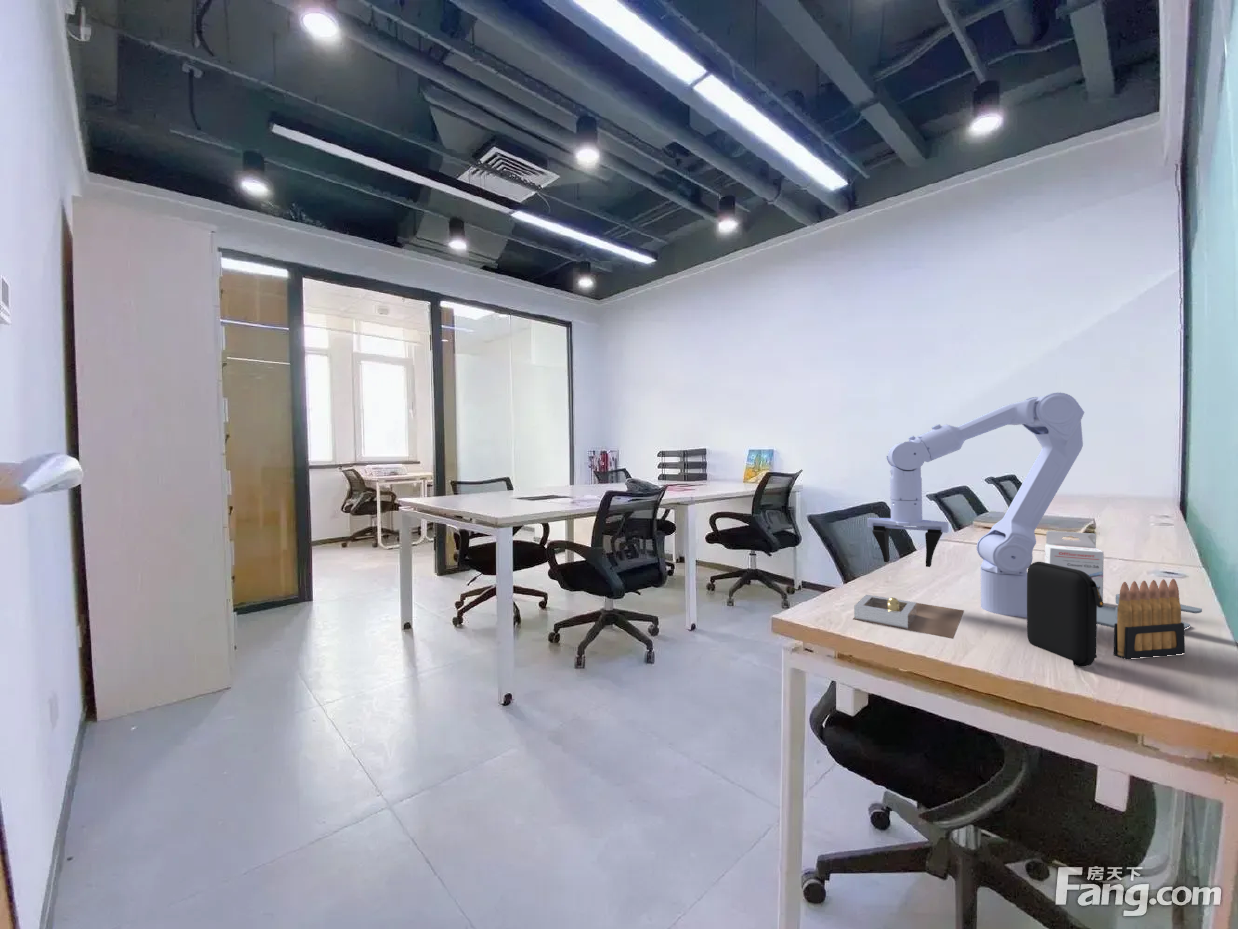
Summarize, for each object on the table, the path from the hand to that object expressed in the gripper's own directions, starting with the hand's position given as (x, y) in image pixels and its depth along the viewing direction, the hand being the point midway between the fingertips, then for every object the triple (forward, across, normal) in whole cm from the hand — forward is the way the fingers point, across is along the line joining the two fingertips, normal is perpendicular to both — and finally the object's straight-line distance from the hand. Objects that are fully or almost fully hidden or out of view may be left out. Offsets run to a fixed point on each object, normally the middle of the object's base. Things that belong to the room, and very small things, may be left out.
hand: (907, 563), depth 102 cm
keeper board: (+9, +2, -8) cm, 12 cm away
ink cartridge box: (+10, +27, +24) cm, 37 cm away
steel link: (+8, -2, -12) cm, 15 cm away
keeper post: (+8, 0, -12) cm, 15 cm away
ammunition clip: (+10, +34, -4) cm, 36 cm away
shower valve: (+10, +35, +13) cm, 39 cm away
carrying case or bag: (+10, +23, -14) cm, 29 cm away
